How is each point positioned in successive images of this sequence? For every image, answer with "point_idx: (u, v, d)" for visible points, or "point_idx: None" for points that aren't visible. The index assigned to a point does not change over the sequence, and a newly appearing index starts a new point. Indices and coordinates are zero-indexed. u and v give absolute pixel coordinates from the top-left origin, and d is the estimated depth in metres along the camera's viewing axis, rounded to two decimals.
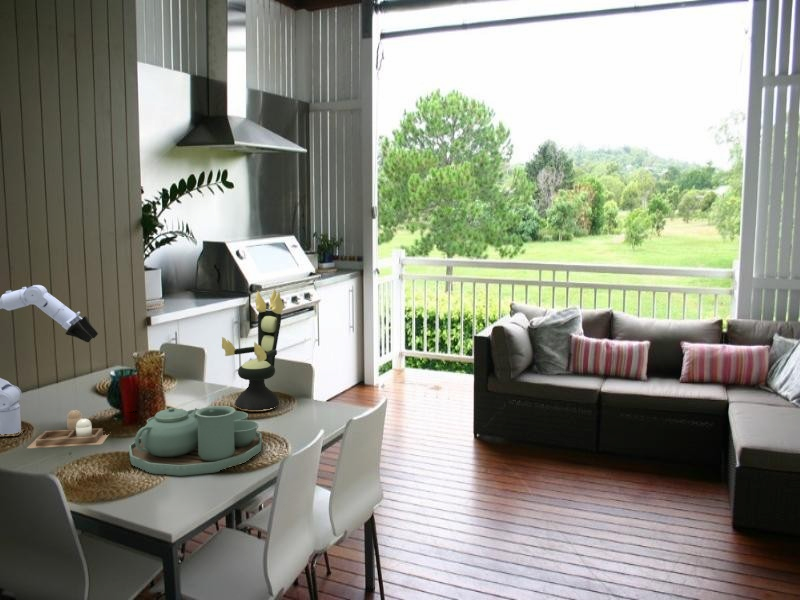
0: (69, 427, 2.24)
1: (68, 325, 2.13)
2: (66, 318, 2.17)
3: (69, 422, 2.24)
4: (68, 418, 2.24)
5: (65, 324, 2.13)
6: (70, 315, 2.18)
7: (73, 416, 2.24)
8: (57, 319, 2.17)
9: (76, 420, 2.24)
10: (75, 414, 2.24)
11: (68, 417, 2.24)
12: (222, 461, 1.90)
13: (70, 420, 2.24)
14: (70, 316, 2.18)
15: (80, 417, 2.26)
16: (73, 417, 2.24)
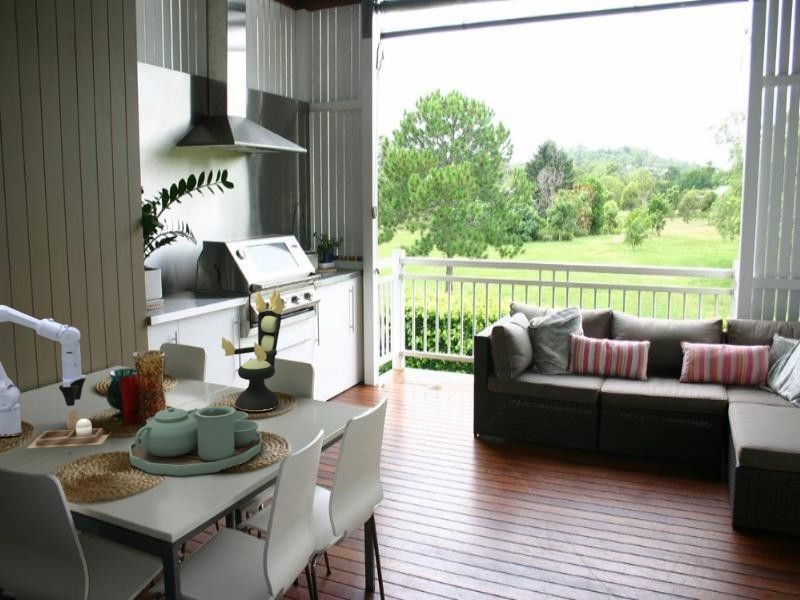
0: (69, 427, 2.24)
1: (68, 385, 2.17)
2: (71, 375, 2.21)
3: (69, 422, 2.24)
4: (68, 418, 2.24)
5: (66, 382, 2.17)
6: (76, 374, 2.23)
7: (73, 416, 2.24)
8: (64, 369, 2.21)
9: (76, 420, 2.24)
10: (75, 414, 2.24)
11: (68, 417, 2.24)
12: (222, 461, 1.90)
13: (70, 420, 2.24)
14: (76, 375, 2.22)
15: (80, 417, 2.26)
16: (73, 417, 2.24)
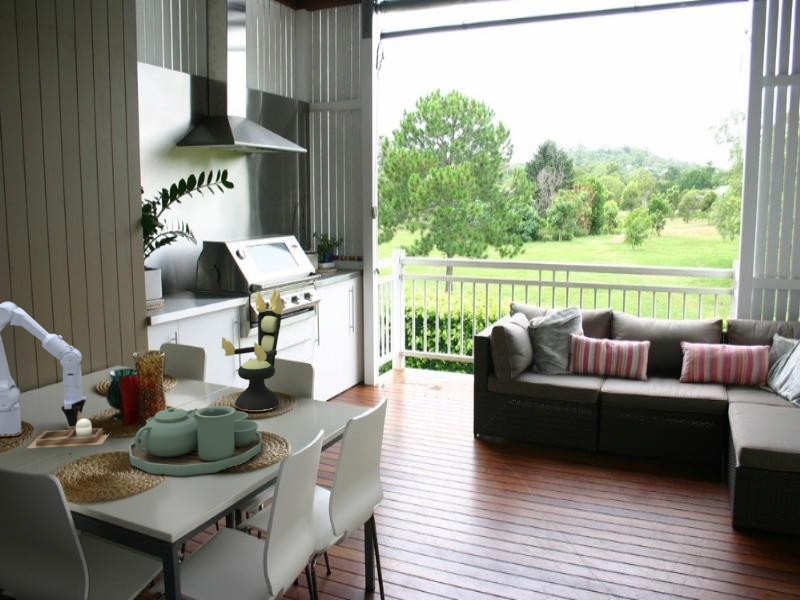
0: (69, 427, 2.24)
1: (69, 407, 2.18)
2: (72, 396, 2.22)
3: None
4: None
5: (68, 404, 2.18)
6: (77, 396, 2.23)
7: None
8: (66, 391, 2.22)
9: None
10: None
11: None
12: (222, 461, 1.90)
13: None
14: (77, 397, 2.23)
15: (80, 417, 2.26)
16: None
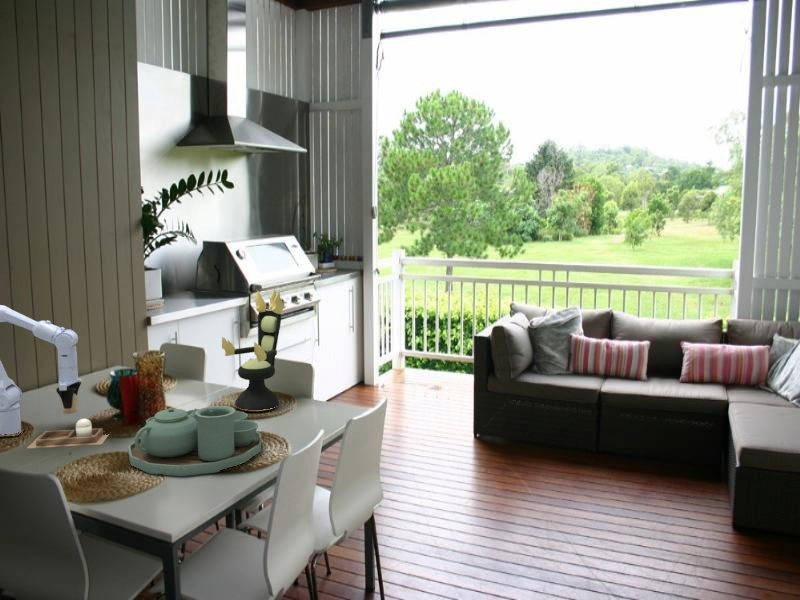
0: (64, 409, 2.21)
1: (64, 388, 2.15)
2: (67, 378, 2.19)
3: None
4: None
5: (63, 386, 2.15)
6: (73, 378, 2.20)
7: None
8: (61, 372, 2.19)
9: None
10: None
11: None
12: (222, 461, 1.90)
13: None
14: (72, 379, 2.20)
15: (76, 399, 2.22)
16: None
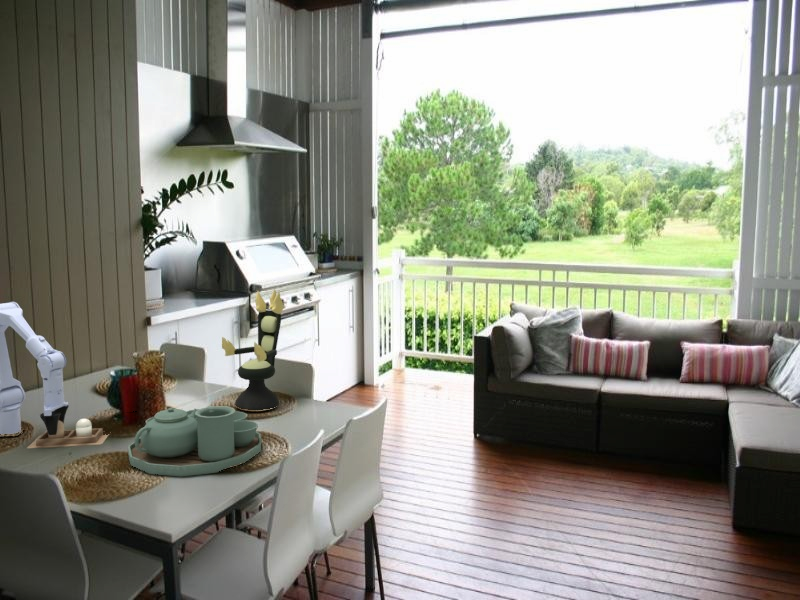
0: (50, 438, 2.11)
1: (49, 414, 2.05)
2: (53, 402, 2.09)
3: None
4: None
5: (47, 411, 2.05)
6: (58, 402, 2.10)
7: None
8: (46, 396, 2.09)
9: (57, 431, 2.11)
10: None
11: None
12: (222, 461, 1.90)
13: None
14: (58, 403, 2.10)
15: (62, 427, 2.13)
16: None
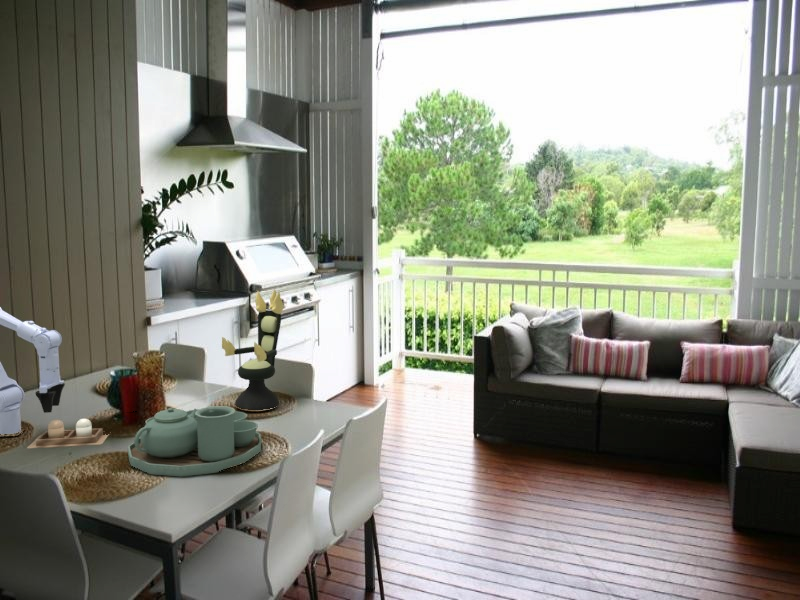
0: (50, 438, 2.11)
1: (44, 391, 2.09)
2: (48, 380, 2.13)
3: (50, 433, 2.11)
4: (49, 429, 2.11)
5: (43, 388, 2.08)
6: (54, 380, 2.14)
7: (55, 426, 2.11)
8: (42, 374, 2.12)
9: (57, 431, 2.11)
10: (57, 424, 2.11)
11: (49, 427, 2.11)
12: (222, 461, 1.90)
13: (51, 430, 2.11)
14: (53, 381, 2.14)
15: (62, 427, 2.13)
16: (54, 427, 2.11)
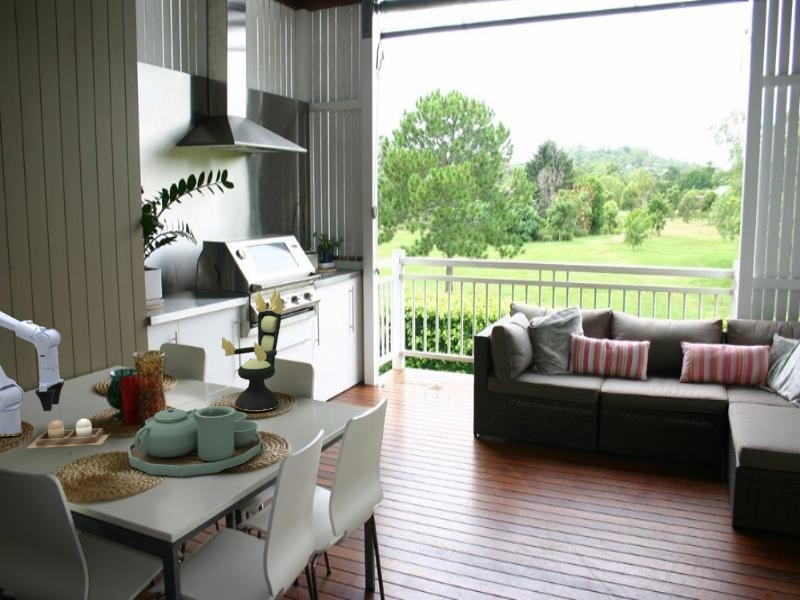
0: (50, 438, 2.11)
1: (44, 389, 2.10)
2: (48, 379, 2.14)
3: (50, 433, 2.11)
4: (49, 429, 2.11)
5: (43, 387, 2.09)
6: (54, 378, 2.15)
7: (55, 426, 2.11)
8: (41, 373, 2.13)
9: (57, 431, 2.11)
10: (57, 424, 2.11)
11: (49, 427, 2.11)
12: (222, 462, 1.90)
13: (51, 430, 2.11)
14: (53, 379, 2.14)
15: (62, 427, 2.13)
16: (54, 427, 2.11)
